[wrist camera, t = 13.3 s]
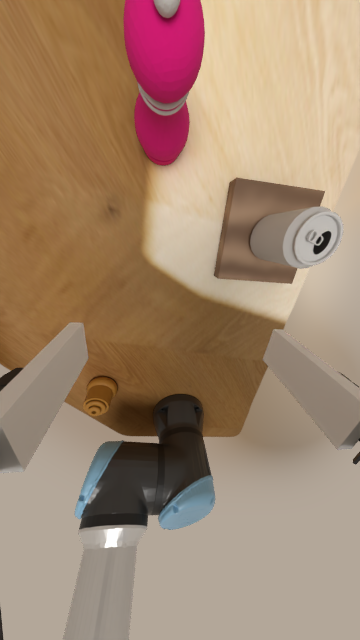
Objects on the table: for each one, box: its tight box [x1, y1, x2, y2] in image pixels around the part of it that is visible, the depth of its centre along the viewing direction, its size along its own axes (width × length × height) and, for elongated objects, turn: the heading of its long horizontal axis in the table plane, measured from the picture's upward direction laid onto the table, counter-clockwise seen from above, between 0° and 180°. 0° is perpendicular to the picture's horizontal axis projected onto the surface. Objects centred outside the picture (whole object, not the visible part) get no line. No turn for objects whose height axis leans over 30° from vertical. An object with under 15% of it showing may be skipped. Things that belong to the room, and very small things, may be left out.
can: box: [250, 206, 343, 269], centre depth 27 cm, size 8×8×12 cm
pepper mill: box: [124, 0, 205, 165], centre depth 19 cm, size 7×7×20 cm
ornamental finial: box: [83, 377, 117, 416], centre depth 44 cm, size 8×8×8 cm
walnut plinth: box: [214, 178, 325, 284], centre depth 34 cm, size 16×16×3 cm
